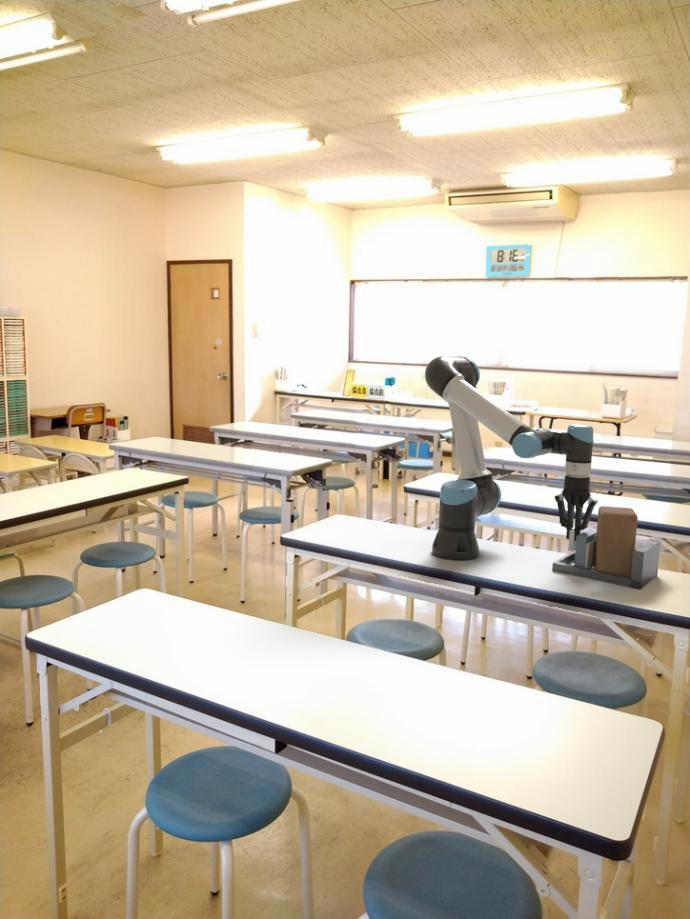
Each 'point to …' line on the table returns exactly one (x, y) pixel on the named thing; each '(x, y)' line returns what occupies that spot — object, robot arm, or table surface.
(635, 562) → the vise bed
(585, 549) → the block
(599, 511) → the wooden block
